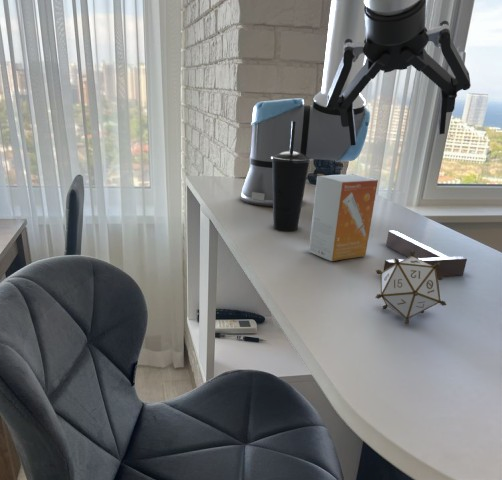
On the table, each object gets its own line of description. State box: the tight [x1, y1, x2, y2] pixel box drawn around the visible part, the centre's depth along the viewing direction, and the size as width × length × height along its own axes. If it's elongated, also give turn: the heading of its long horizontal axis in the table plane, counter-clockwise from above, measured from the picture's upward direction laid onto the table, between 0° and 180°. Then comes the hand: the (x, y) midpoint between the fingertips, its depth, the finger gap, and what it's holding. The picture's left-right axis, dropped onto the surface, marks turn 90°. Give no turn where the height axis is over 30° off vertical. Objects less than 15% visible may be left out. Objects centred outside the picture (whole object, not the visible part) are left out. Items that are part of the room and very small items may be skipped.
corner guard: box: [382, 230, 468, 278], centre depth 86 cm, size 17×14×3 cm
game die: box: [374, 250, 447, 327], centre depth 63 cm, size 9×8×10 cm
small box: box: [308, 173, 379, 262], centre depth 85 cm, size 8×6×13 cm
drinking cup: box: [271, 122, 312, 232], centre depth 98 cm, size 8×8×20 cm
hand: (396, 134), depth 81 cm, fingers open, 13 cm apart
